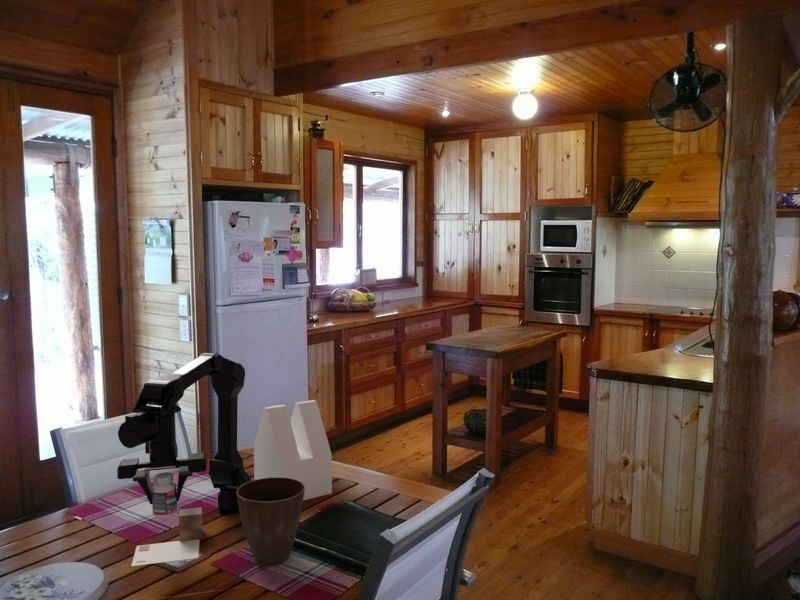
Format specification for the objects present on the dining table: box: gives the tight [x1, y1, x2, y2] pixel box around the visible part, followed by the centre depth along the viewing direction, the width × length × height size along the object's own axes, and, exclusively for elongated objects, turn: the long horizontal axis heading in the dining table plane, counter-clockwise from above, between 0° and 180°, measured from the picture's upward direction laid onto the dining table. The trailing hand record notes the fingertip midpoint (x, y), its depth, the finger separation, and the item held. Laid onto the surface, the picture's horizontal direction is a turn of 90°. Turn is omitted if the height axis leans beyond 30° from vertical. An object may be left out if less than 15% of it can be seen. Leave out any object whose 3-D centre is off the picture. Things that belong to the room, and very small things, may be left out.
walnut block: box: [178, 507, 203, 542], centre depth 156 cm, size 5×5×6 cm
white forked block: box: [253, 399, 333, 501], centre depth 186 cm, size 19×15×25 cm
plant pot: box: [236, 477, 305, 567], centre depth 145 cm, size 15×15×16 cm
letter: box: [130, 539, 201, 567], centre depth 148 cm, size 14×10×1 cm
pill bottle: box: [151, 471, 178, 518], centre depth 147 cm, size 5×5×9 cm
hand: (164, 502), depth 147 cm, fingers closed on pill bottle, 5 cm apart
